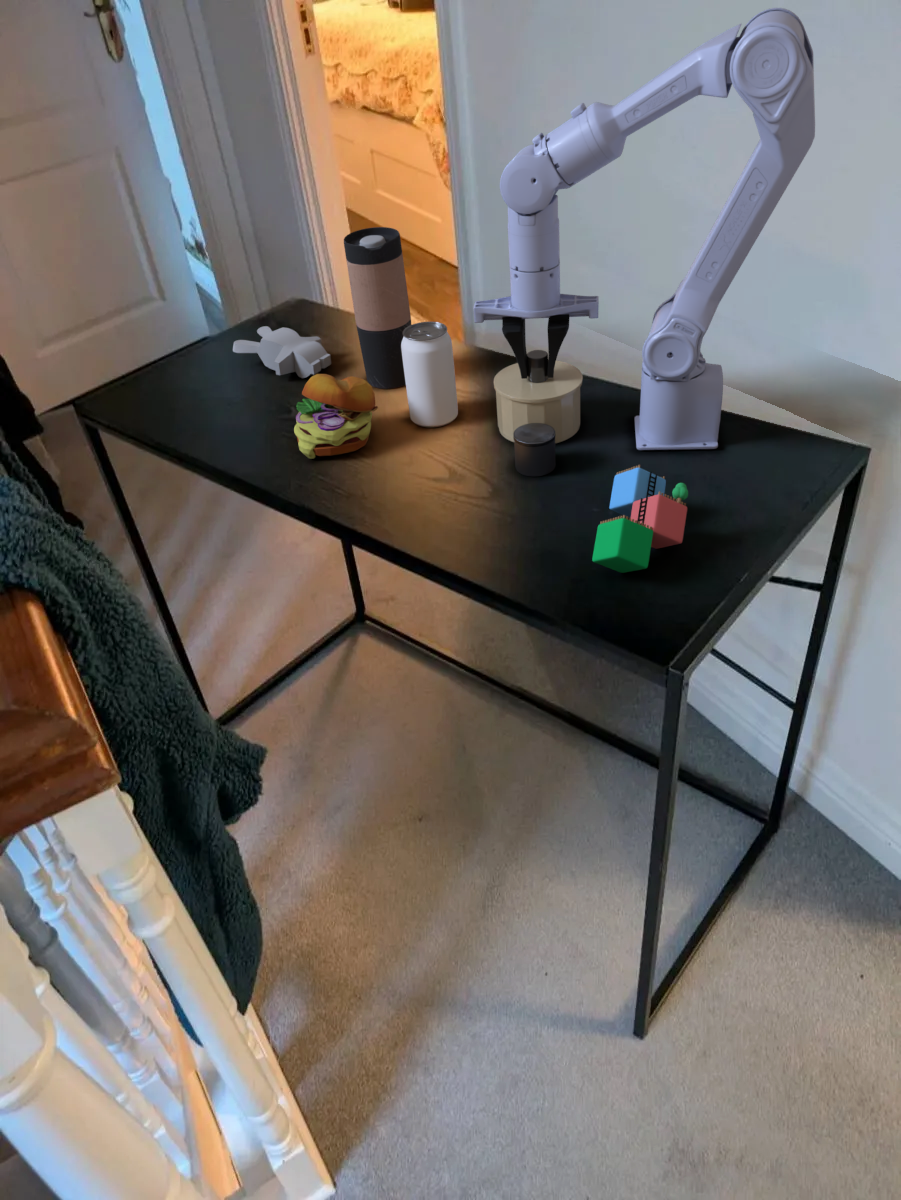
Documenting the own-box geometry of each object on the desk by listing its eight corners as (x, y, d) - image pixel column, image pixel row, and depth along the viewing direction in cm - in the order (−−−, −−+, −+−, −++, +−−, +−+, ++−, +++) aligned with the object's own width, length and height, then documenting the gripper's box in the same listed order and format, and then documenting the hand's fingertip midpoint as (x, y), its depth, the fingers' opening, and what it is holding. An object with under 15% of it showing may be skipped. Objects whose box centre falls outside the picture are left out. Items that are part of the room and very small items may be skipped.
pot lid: (583, 366, 115) (583, 333, 112) (582, 406, 107) (582, 372, 104) (497, 368, 117) (495, 337, 114) (490, 408, 108) (488, 375, 106)
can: (453, 429, 116) (444, 341, 109) (405, 428, 118) (393, 341, 110) (463, 405, 121) (455, 319, 113) (416, 405, 122) (406, 320, 115)
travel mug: (387, 362, 134) (367, 224, 121) (428, 372, 130) (412, 230, 117) (354, 383, 129) (330, 241, 117) (395, 394, 126) (375, 248, 113)
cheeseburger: (276, 448, 116) (274, 371, 111) (339, 433, 123) (340, 360, 118) (327, 470, 110) (327, 390, 106) (390, 453, 117) (393, 377, 113)
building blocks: (625, 589, 95) (642, 485, 98) (679, 580, 88) (696, 468, 91) (566, 567, 92) (586, 459, 94) (618, 555, 85) (638, 439, 87)
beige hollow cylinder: (580, 405, 118) (580, 362, 114) (579, 445, 110) (579, 400, 106) (502, 407, 120) (499, 365, 116) (495, 446, 112) (492, 402, 108)
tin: (556, 455, 109) (556, 422, 106) (555, 476, 105) (554, 443, 102) (516, 456, 110) (514, 423, 107) (513, 477, 106) (511, 443, 103)
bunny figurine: (298, 362, 127) (223, 333, 133) (302, 394, 130) (228, 365, 137) (341, 337, 133) (267, 310, 139) (344, 368, 136) (271, 341, 142)
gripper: (598, 248, 104) (597, 358, 112) (474, 254, 106) (482, 362, 115) (599, 270, 99) (597, 384, 107) (468, 276, 101) (477, 387, 109)
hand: (537, 374), depth 111 cm, fingers closed on pot lid, 2 cm apart
